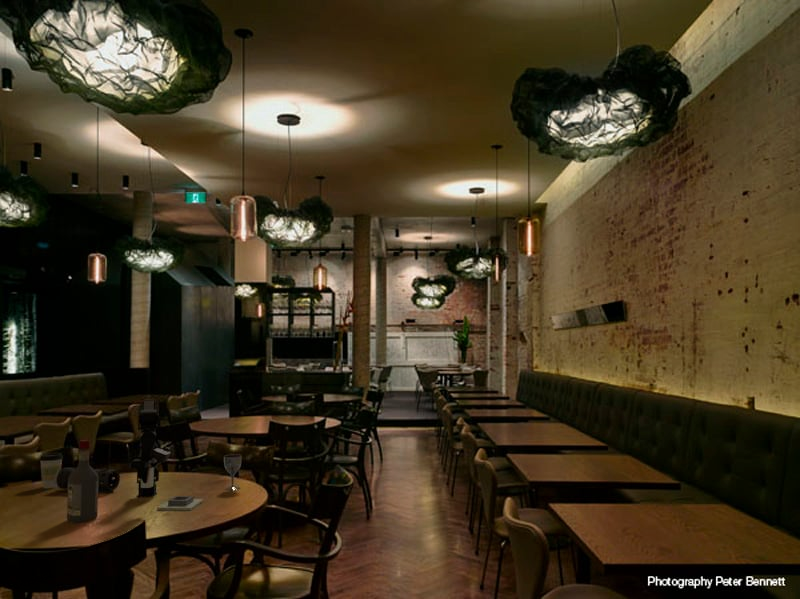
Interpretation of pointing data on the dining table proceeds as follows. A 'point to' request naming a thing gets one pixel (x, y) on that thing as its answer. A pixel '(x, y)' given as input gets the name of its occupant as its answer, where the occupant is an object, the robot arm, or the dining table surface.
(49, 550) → the dining table surface
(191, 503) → the end holder
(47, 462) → the coffee cup
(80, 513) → the liquor
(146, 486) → the connector plug
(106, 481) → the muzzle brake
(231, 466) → the wine glass
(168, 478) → the dining table surface
